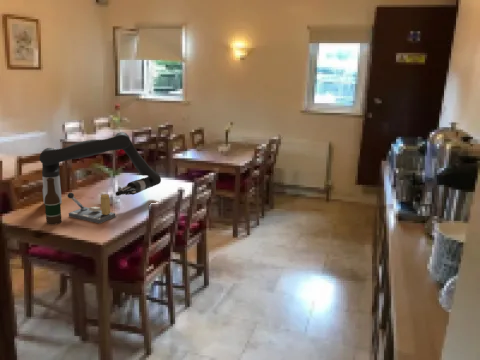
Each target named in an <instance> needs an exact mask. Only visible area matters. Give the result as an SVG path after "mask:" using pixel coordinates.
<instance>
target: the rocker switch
mask: <svg viewBox="0 0 480 360" xmlns="http://www.w3.org/2000/svg"><path fill="white" fill-rule="evenodd" d="M88 208H89V211H94V212H96V211H100V210H101V207H100V206H99V207H98V206H91V207H88Z"/></svg>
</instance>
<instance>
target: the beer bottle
mask: <svg viewBox="0 0 480 360" xmlns="http://www.w3.org/2000/svg"><path fill="white" fill-rule="evenodd" d="M47 190H48V191H47V194H46V196H45V204H44V211H45V219H46V224H47V225H58V224H61V223H62V210H61V209H62V208H61V204H60V199H59V196H58V195H57V193H56V192H55V186H54V178H47Z"/></svg>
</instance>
